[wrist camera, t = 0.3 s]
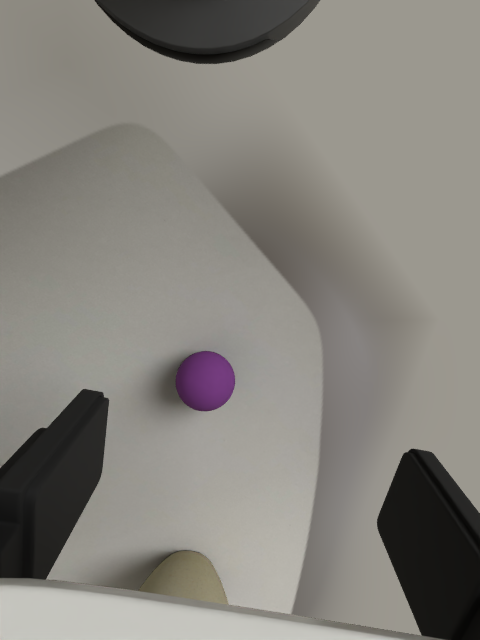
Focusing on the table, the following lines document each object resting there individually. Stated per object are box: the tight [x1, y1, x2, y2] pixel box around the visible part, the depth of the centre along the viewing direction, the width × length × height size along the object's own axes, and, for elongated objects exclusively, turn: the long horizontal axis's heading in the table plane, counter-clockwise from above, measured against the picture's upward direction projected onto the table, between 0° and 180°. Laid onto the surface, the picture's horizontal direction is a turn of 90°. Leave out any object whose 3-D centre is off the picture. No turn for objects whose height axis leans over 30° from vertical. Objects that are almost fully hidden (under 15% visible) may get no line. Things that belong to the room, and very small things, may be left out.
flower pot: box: [138, 551, 229, 605], centre depth 32 cm, size 10×10×7 cm
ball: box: [176, 351, 235, 411], centre depth 26 cm, size 4×4×4 cm
